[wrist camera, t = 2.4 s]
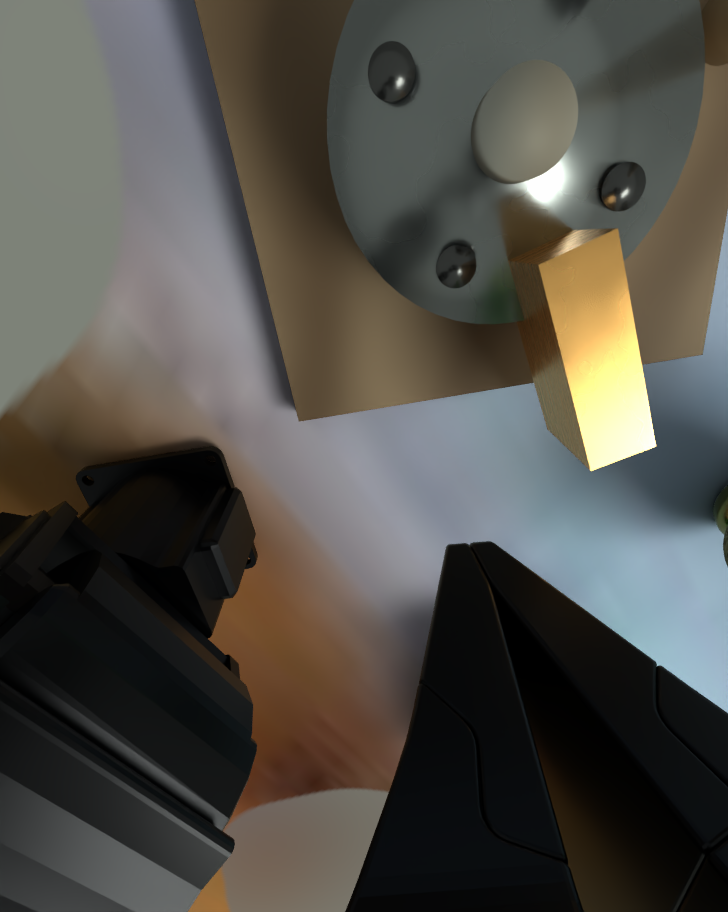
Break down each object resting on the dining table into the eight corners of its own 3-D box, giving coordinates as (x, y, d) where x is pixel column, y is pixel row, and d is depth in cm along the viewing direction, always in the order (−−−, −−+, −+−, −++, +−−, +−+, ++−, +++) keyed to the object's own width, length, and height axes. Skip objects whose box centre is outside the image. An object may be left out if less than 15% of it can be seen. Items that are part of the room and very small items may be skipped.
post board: (301, 412, 19) (287, 461, 15) (179, -88, 12) (93, -251, 8) (685, 348, 18) (784, 381, 14) (773, -222, 12) (1007, -478, 7)
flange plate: (263, 24, 12) (231, -53, 9) (650, -214, 10) (782, -414, 7) (448, 468, 18) (469, 517, 14) (710, 363, 16) (796, 393, 13)
